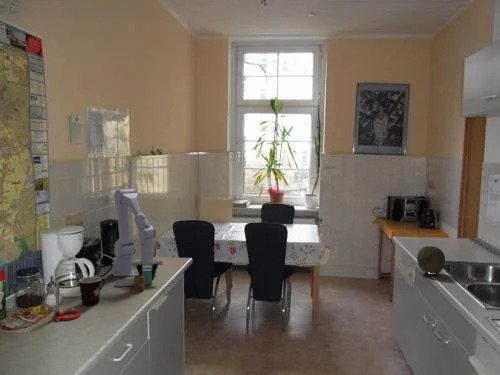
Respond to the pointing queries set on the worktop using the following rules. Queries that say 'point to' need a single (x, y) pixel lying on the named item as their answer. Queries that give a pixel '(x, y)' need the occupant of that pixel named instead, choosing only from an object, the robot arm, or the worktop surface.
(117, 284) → the mat
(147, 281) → the teal block
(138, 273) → the control box
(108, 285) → the worktop surface
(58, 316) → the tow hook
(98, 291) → the coffee mug
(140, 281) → the walnut block
